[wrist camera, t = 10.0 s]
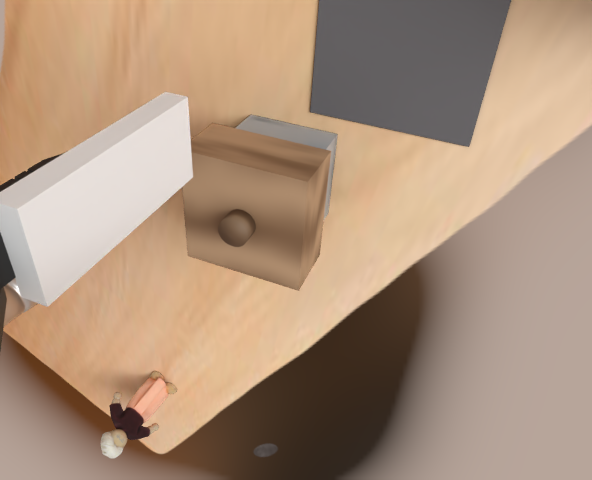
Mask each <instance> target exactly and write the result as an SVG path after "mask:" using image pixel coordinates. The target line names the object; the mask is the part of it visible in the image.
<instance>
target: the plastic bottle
mask: <svg viewBox="0 0 592 480" xmlns="http://www.w3.org/2000/svg"><path fill="white" fill-rule="evenodd" d="M4 290H5V293H6V297H7V303H6V310H5V318H4V326H5V325H7V324H8V323H9V322H11V321H12V320H14V319H15V318H16V317H18V316H19V315H20V314H22V313H23V312H26V311H27V310H29V309H31V308H32V307H34V306H35V305H37V304H38V303H36V302H33V301H31V300H28V299H25V298H23V297H21V294H20V291H19V288H18V286H17V283H16V280H15V278H14V279H13V280H12V281H11V282H9V283H8V284H7V285H6V286H4ZM4 326H3V327H4Z"/></svg>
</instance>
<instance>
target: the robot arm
mask: <svg viewBox="0 0 592 480" xmlns="http://www.w3.org/2000/svg"><path fill="white" fill-rule="evenodd" d="M192 178H193V168H192V153H191V138H190V123H189V108H188V97H186V96H182V95H177V94H173V93H169V92H164V93H163V94H161V95H159V96H158V97H156V98H154V99H153V100H151V101H149V102H148V103H146V104H145V105H143V106H141V107H140V108H138V109H136V110H135V111H133V112H131V113H130V114H128V115H126V116H125V117H123V118H121V119H120V120H118V121H117V122H115V123H113V124H112V125H110V126H108V127H107V128H105V129H103V130H102V131H100V132H98V133H97V134H95V135H93V136H92V137H90V138H89V139H87V140H85V141H84V142H82V143H80V144H79V145H77V146H75V147H74V148H72V149H70V150H69V151H67V152H65V153H63V154H60V155H57V156H54V157H51V158H48V159H44V160H42V161H41V162H39V163H37V164H36V165H34V166H32V167H31V168H29V169H28V171H27V172H26V171H24V172H22V173H21V174H19V175H17V176H15V179H10V180H9V181H7V182H5V183H4V184H2V185H0V350H1V342H2V334H3V326H4V318H5V310H6V303H7V297H6V293H5V290H4V286H6V285H7V284H8V283H9V282H11V281H12V280H13V279H14V278H15V280H16V283H17V286H18V288H19V291H20V294H21V297H23V298H25V299H28V300H31V301H33V302H36V303H39V304H41V305H44V306H47V307H48V306H49V305H50V304H51V303H52V302H53V301H55V300H56V299H57V298H58V297H59V296H60V295H61V294H62V293H64V292H65V291H66V290H67V289H68V288H69V287H70V286H71V285H73V284H74V283H75V282H76V281H77V280H78V279H79V278H80V277H82V276H83V275H84V274H85V273H86V272H87V271H88V270H89V269H91V268H92V267H93V266H94V265H95V264H96V263H97V262H98V261H100V260H101V259H102V258H103V257H104V256H105V255H106V254H107V253H109V252H110V251H111V250H112V249H113V248H114V247H115V246H116V245H118V244H119V243H120V242H121V241H122V240H123V239H124V238H125V237H126V236H128V235H129V234H130V233H131V232H132V231H133V230H134V229H135V228H137V227H138V226H139V225H140V224H141V223H142V222H143V221H144V220H146V219H147V218H148V217H149V216H150V215H151V214H152V213H153V212H155V211H156V210H157V209H158V208H159V207H160V206H161V205H162V204H164V203H165V202H166V201H167V200H168V199H169V198H170V197H171V196H173V195H174V194H175V193H176V192H177V191H178V190H179V189H180V188H182V187H183V186H184V185H185V184H186V183H187V182H188V181H189V180H191V179H192Z"/></svg>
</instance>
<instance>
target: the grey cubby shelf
mask: <svg viewBox="0 0 592 480" xmlns="http://www.w3.org/2000/svg"><path fill="white" fill-rule="evenodd" d="M236 129H240V130H245V131H249V132H253V133H257V134H261V135H266V136H270V137H274V138H278V139H283V140H287V141H291V142H295V143H300V144H304V145H308V146H312V147H316V148H321V149H325V150H329V151H331V158H330V167H329V175H328V184H327V193H326V202H325V211H324V219H325V218H326V216H327V214H328V212H329V203H330V195H331V186H332V178H333V169H334V161H335V152H336V144H337V135H338V134H335V133H330V132H326V131H321V130H317V129H313V128H308V127H304V126H299V125H295V124H291V123H286V122H282V121H277V120H273V119H268V118H264V117H260V116H255V115H250V116H249V117H247V118H246V119H245V120H244V121H243V122H242V123H240V124H239V125H238V126H237V127H236ZM323 221H324V220H323Z"/></svg>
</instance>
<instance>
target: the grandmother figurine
mask: <svg viewBox="0 0 592 480" xmlns="http://www.w3.org/2000/svg"><path fill="white" fill-rule="evenodd" d="M163 380H164V377H163V376H162V375H161V374H160V373H159V372H157V371H153V372H152V374H151V375H150V378H148V379H147V380H146V381H145V383H144V384H143V385H142V386H141V387H140V388H139V389H138V391H137V392H136V393H135V395H134V396H133V397H132V399H131V400H130V402H129V403H128V405H127V407H126V409H125V411H123V409H122V407H121V404H120V399H121V396H122V395H121V393H119V392H116V393H115V394H114V399H113V401H112V404H111V405H110V413H111V418H112V421H113V423H114V425H115V427H116V429H115V430H113V431H111V432H106V433H105V434H103V435H102V438H101V449H102V453H103V454H104V455H106V456H108V457H109V458H115V457H117V456H119V455H120V454H121V453H122V451H123V447H124V446H125V444H126V442H127V438H128V439H130V440H135V439H141V438H144V437H147V436H149V435H150V434H152V433H153V432H154V431H157V430H158V428H159V425H158V424H157V423H154V424H152V426H149V427H143V426H141V425H142V424H143V423H145V422H146V421H148V419H149V418H150V417H151V416H152V415H153V414H154V413H155V411H156V410H157V409H158V408H159V407H160V405H161V404H162V403H163V402H164V400H165V399H166V398H167V397H168V394H174V393H176V392H177V389H176V387H175V386H174V385H173V384H171V383H165V382H164V381H163Z"/></svg>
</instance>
